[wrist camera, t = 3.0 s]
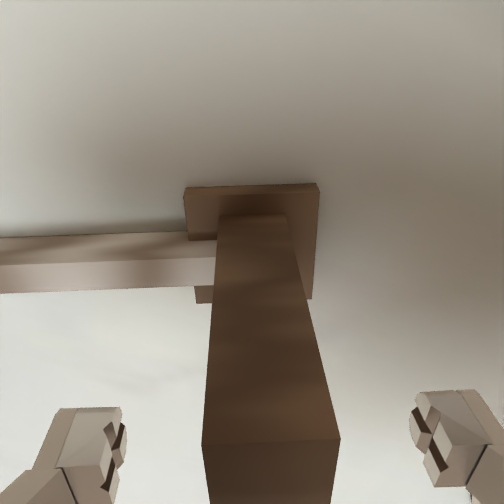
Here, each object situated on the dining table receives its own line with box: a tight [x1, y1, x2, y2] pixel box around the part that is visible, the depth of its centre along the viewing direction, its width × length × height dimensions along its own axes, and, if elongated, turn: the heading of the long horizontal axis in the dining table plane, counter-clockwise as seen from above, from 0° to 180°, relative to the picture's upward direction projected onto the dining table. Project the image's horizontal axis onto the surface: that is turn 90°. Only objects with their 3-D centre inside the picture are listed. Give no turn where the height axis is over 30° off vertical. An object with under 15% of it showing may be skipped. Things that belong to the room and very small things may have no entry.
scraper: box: [0, 183, 341, 504], centre depth 14 cm, size 24×7×12 cm, turn 91°
